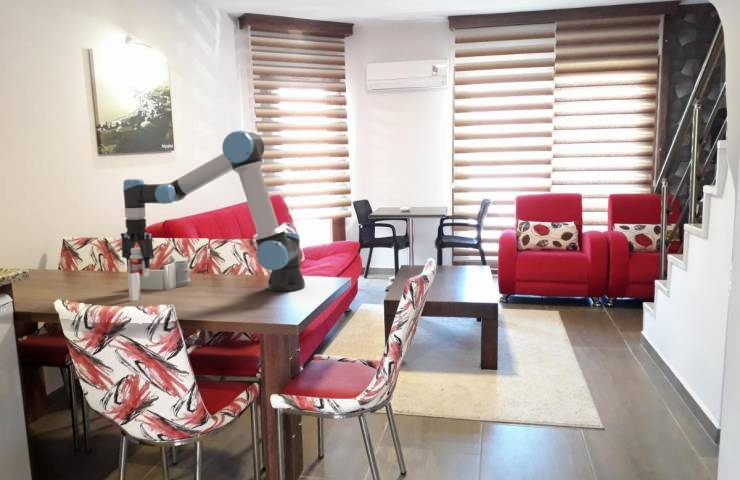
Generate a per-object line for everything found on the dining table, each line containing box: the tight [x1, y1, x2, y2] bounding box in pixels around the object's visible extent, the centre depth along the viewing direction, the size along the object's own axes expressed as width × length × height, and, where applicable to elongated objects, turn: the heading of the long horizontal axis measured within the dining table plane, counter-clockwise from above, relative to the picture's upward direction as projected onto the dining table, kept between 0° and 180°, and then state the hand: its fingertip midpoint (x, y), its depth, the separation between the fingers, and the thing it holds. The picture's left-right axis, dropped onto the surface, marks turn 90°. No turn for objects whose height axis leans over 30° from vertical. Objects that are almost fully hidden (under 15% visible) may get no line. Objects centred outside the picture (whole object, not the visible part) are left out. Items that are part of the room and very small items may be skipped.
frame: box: [127, 263, 177, 302], centre depth 228 cm, size 2×26×10 cm, turn 161°
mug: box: [169, 255, 192, 288], centre depth 245 cm, size 8×12×12 cm, turn 54°
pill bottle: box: [130, 247, 143, 277], centre depth 229 cm, size 6×6×11 cm
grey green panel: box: [139, 269, 165, 291], centre depth 236 cm, size 2×14×8 cm, turn 81°
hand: (139, 275), depth 230 cm, fingers closed on pill bottle, 6 cm apart
